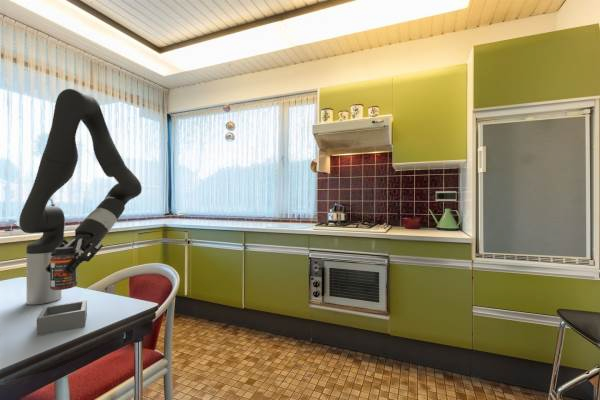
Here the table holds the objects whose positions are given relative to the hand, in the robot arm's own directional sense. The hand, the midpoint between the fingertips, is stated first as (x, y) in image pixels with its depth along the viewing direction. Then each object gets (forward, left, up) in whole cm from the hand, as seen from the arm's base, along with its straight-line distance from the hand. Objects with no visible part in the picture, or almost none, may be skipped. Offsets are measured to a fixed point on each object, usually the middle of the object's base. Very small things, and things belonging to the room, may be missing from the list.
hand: (57, 272), depth 79 cm
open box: (-1, +1, -15) cm, 15 cm away
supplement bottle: (-1, +1, -5) cm, 5 cm away
